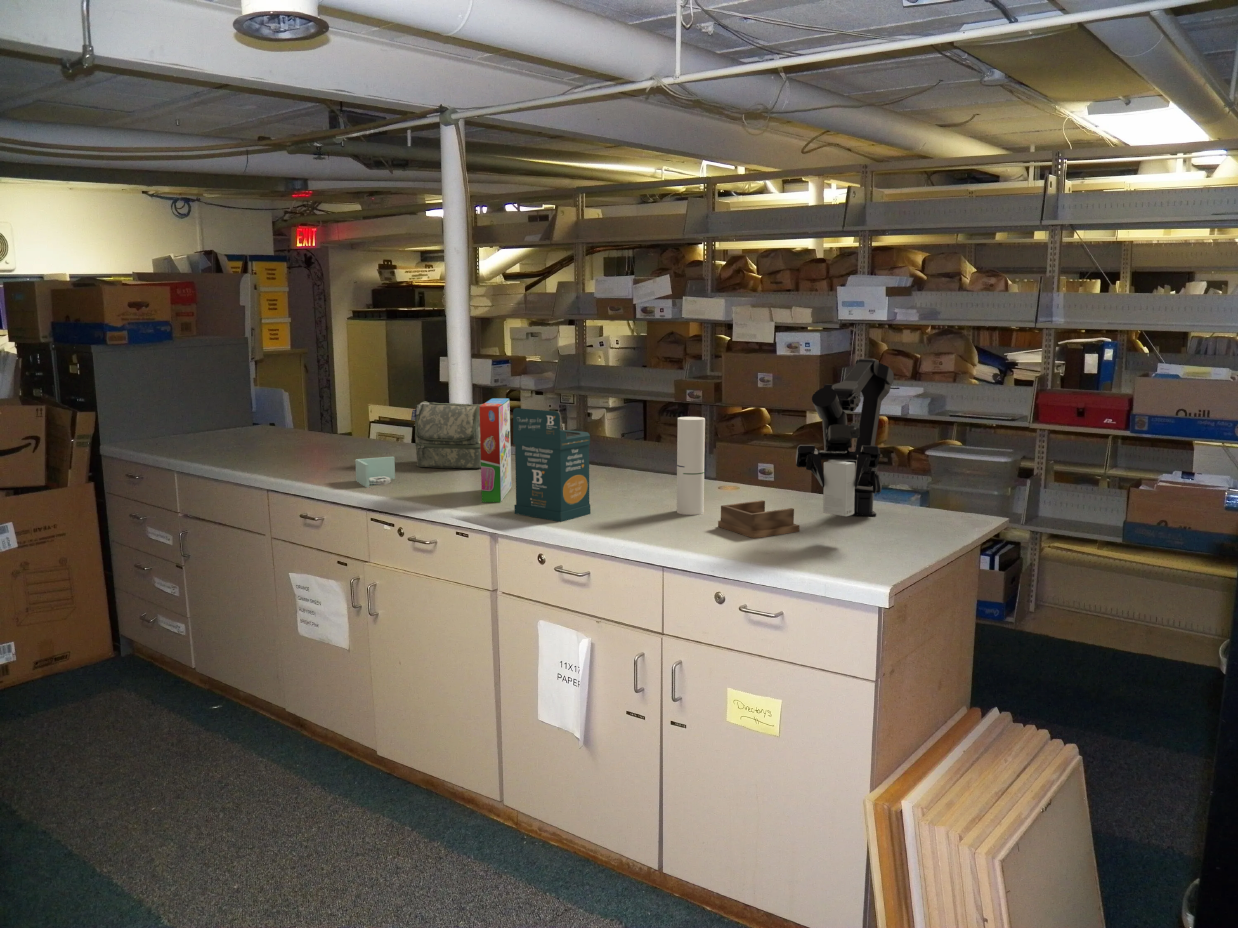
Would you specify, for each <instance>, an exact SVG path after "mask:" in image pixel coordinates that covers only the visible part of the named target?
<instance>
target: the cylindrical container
mask: <svg viewBox="0 0 1238 928" xmlns="http://www.w3.org/2000/svg"><path fill="white" fill-rule="evenodd" d="M676 432H677V439H676V441H677V443H676V444H677V445H676V446H677V447H676V449H677V451H676V453H677V454H676V459H677V460H676V513H677V514H680V515H684V516H695V515H696V516H697V515H701V514H702V515H703V514H704V513H705V512H704V510H705V507H704V506H705V499H704V498H705V454H706V453H705V451H706V450H705V449H706V448H705V442H706V441H705V439H706V434H705V433H706V418H705V417H701V416H680V417H677V431H676Z"/></svg>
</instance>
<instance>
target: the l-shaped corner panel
mask: <svg viewBox="0 0 1238 928" xmlns="http://www.w3.org/2000/svg"><path fill="white" fill-rule="evenodd" d="M354 462H355V479H356V483H358V482H359V483H358V484H360V485H361V486H363V487H365V488H367V487H368V488H370V485H375V486H382V485H388V484H391V481H392V479H393V480H395V479H396V468H395V465H396V464H395V462H396V461H395V456H383V457H382V456H381V457H369V458H368V457H367V458H357V459H355V461H354Z"/></svg>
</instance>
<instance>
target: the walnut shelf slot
mask: <svg viewBox="0 0 1238 928" xmlns="http://www.w3.org/2000/svg"><path fill="white" fill-rule="evenodd" d="M794 518H795V508H792V507H791V508H789V507H788V508H783V509H775V510H768V511H766V501H765V500H763V499H761V500H754V501H747V502H739V503H738V502H737V503H731V504H723V505H720V520H717V527H718V528H721V529H725V530H728V531H730V532H733V533H737V534H739V535H742V536H745V537H747V538H748V537H749V538H751V539H759V538H765V537H771V536H778V535H784V534H791V533H797V532H800V527H801V526H800V524H796V523H795V521H794Z"/></svg>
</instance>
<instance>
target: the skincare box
mask: <svg viewBox="0 0 1238 928" xmlns="http://www.w3.org/2000/svg"><path fill="white" fill-rule="evenodd" d="M823 475H824V487H823V492H822V493H823V497H822V500H823V501H822V502H823V507H822V513H825V514H828V515H829V514H830V515H835V516H841V517H849V516H854V515H853V514H854V497H855V463H852V462H846V461H836V460H826V461H824V462H823Z"/></svg>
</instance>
